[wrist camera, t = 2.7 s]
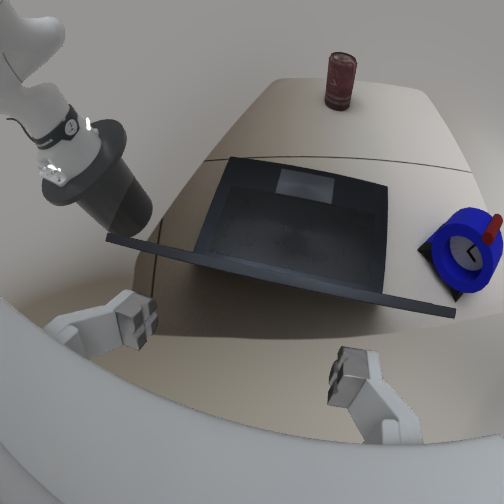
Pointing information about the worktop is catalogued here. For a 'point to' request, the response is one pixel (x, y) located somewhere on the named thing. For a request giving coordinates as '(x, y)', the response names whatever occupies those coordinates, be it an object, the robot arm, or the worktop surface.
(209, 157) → the worktop surface
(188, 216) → the worktop surface
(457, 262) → the alarm clock
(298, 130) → the worktop surface
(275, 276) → the laptop screen
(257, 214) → the laptop
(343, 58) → the can
